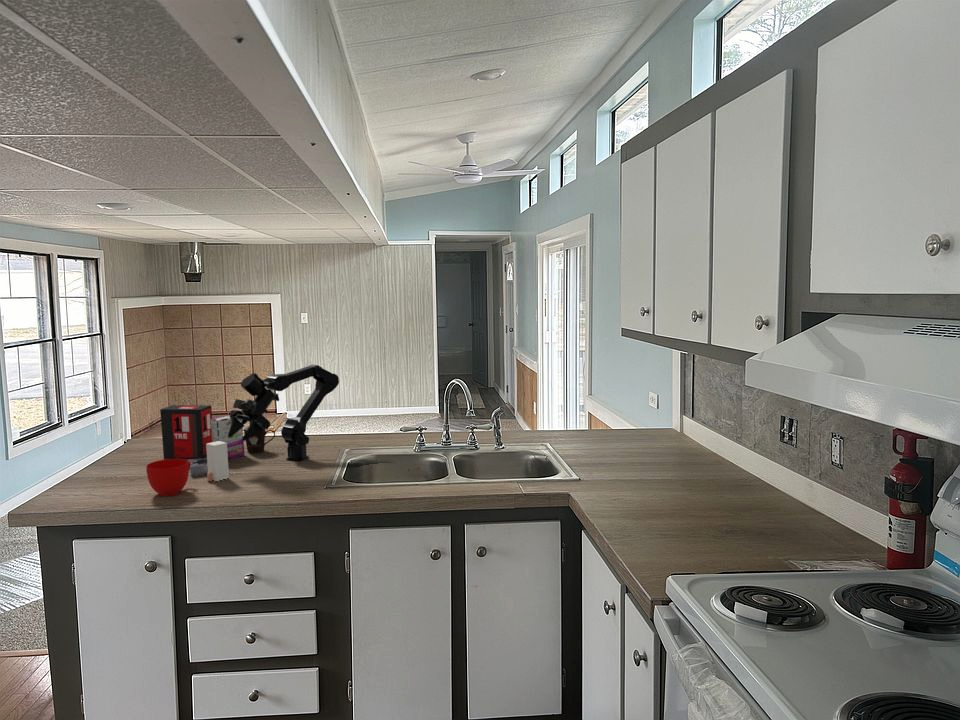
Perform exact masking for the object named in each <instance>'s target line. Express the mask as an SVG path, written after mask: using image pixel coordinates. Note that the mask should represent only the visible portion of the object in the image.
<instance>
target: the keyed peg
mask: <svg viewBox="0 0 960 720" xmlns="http://www.w3.org/2000/svg"><path fill="white" fill-rule="evenodd" d="M206 449H207V465H208V473H207V475H206V478H207V482H208V481H211V482H215V481H218V482H220V481H219V480H222V481H224V480H223V479H226V480H228V479H227V478H229V479H230V473H229V459H228V453H227V443H225V442H221V441H216V442H212V443H207V444H206ZM212 480H214V481H212Z"/></svg>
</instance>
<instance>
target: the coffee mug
mask: <svg viewBox="0 0 960 720" xmlns="http://www.w3.org/2000/svg"><path fill="white" fill-rule="evenodd" d="M249 426H250V425H248V426H246V427H245V426H244V427H243V435H244V434H245V433H246V431H247V429H248V428H249ZM269 432H272V433H273V437H271V438H270V439H269V440H267V441H266V435H267V433H269ZM275 437H276V431H274V430H273V429H267V430H266V429H265V430H264V431H261V432H259V433H257V434H255V435H254V436H252V437H250V438H248V439H247V440H245V445H246V449H247V450H246V451H247V453H248V452H249V453H248V454H251V453H256V454H261V453H263V452H265V446H266V444H267V445H268V443H270V442H271V441H272V440H273V439H274V438H275ZM265 441H266V442H265Z"/></svg>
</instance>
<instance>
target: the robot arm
mask: <svg viewBox="0 0 960 720" xmlns="http://www.w3.org/2000/svg"><path fill="white" fill-rule="evenodd" d="M311 377H312V378H313V379H314V380H315V385H314V387H315V388H314V389H313V391H312V393H311V394H310V396H309V397H308V399H307V400H306V402H305V403H304V405H302V407H301V408H300V410H299V412H298V413H297V414H296V416H295V417H294V418H287V419H286V421H285V423H284V424H283V425H282V429H281V431H280V433H281V437H282V438H283V439H284V442H285V443H286V444H287V449H286V450H287V457H286V459H285V460H286V461H296V462H300V461H304V460H305V459H308V458H310V455H308V454H307V445H309V443H310V437H309V436H308V435H306V434H305V433H306V430H307V424H308V422H309V421H310V419H311V418H312V416H313V415H314V414H315V412H316V410H317V409H318V407H319V406H320V404H321V403H322V401H323V400H324V398H325V397H326V396H327V395H328V394H330V393H331V392H333V391H334V390H335V389H336V388H337V387H338V386H339V385H340V379H339V376H338V374H336V373H333V372H330V371H328V370H327V369H326V368H324V367H321V366H320V365H318V364H309V365H307V366H305V367H302V368H299V369H296V370H293V371H290V372H287V373H277V374H276V373H275V374H269V375H268V376H266V378H263V379H261V377H259V375H258V374H257V373H255V372H251V373H250V375H248V376H246V377H244V378H243V379H242V380H241V383H240V386H241V388H242V389H244V390H245V391H246V392H247V393H248V394H249V395H250V396H252V397H255V398H254V399H249V398H248V399H247V398H246V400H243V399H235V400H234V403H233V406H232V408H233V409H232V410H231V411H230V412H229V413H228V416H230V418H231V421H232V423H231V427H230V430H229V433H228V437H231V436H233V435H234V434H235V433H236V432H238V431H239V430H240V429H241V428H243V429H244V428H245V424H247V423H248V422H249V425H248V426H249V428H248V429H247V431H246V433H245V434H244V433H243V438H242V440H243V441H244V442H246V440H247V439H248V438H250V437H252V436H254V435H255V434H257V433H259V432H261V431H264V430H265V431H266V430H269V428H270V427H271V421H270V420H269V419H267V418H266V417H265V416H264V414H268V412H269V411H268V410H267V409H268V407H269V406H270V405H271V404H272V402H273V401H275V402H279V401H280V398H279V394H278V393H276V392H282V391H284V390H286V389H288V388H290V386H291V385H293V384H294V383H297V382H300V381H303V380H307V379H308V378H311ZM274 391H275V392H274ZM238 409H239V410H238Z"/></svg>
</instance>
